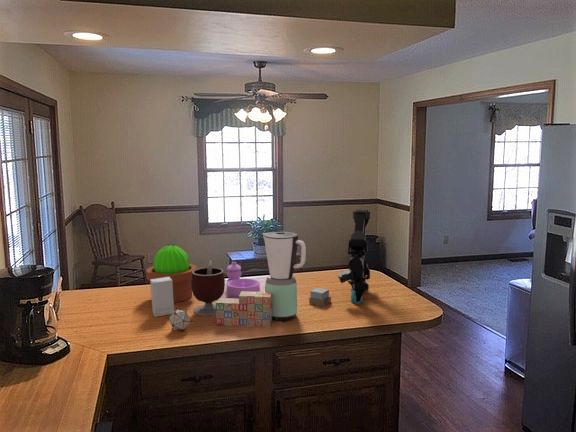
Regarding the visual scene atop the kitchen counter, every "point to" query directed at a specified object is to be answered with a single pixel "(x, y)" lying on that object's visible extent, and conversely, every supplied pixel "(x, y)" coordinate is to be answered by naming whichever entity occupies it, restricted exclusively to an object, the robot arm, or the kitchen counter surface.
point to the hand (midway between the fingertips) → (356, 299)
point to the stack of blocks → (245, 310)
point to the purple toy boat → (239, 282)
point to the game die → (179, 319)
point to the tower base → (320, 301)
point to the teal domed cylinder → (354, 297)
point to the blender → (283, 272)
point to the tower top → (319, 293)
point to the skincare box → (162, 296)
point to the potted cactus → (173, 270)
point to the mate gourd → (207, 288)
